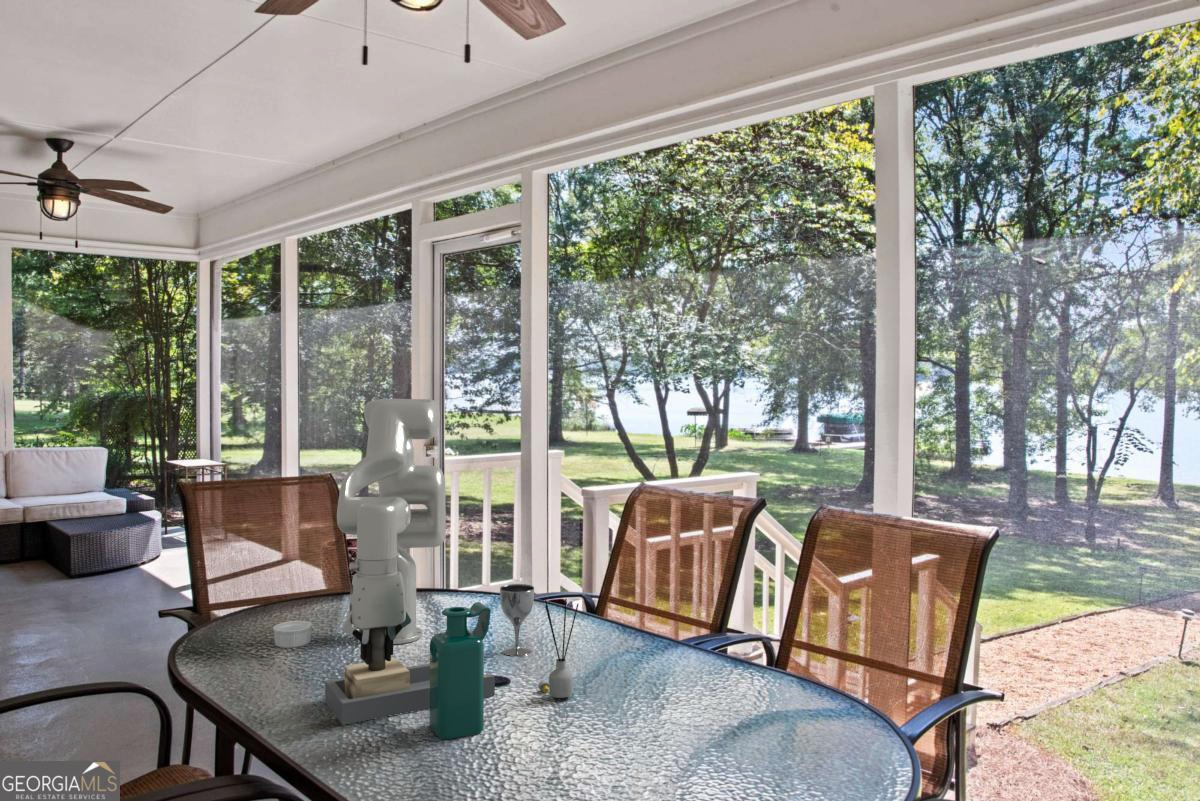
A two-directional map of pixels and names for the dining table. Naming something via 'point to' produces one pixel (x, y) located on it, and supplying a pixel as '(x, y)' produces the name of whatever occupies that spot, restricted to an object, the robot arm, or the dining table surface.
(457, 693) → the pitcher
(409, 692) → the bay
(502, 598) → the wine glass
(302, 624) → the ramekin
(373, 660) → the rubber stamp
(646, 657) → the dining table surface
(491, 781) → the dining table surface
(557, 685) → the reed diffuser
